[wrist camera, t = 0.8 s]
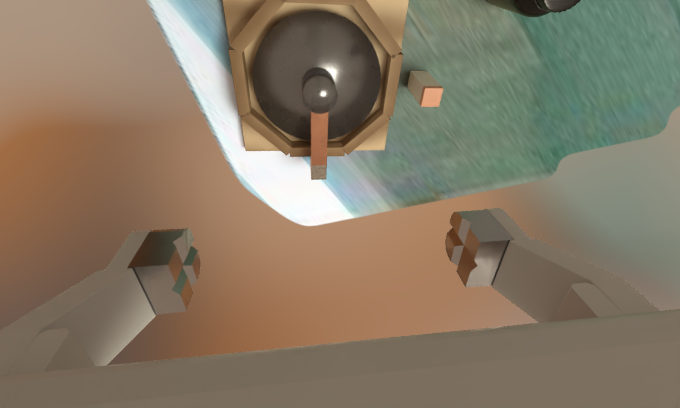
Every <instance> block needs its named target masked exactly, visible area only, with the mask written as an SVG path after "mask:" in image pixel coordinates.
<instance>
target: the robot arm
mask: <svg viewBox="0 0 680 408" xmlns="http://www.w3.org/2000/svg"><path fill="white" fill-rule="evenodd" d="M450 224H451V225H452V227H453V228H452V229H451V230H450V231H449V232H448V233H447V236H446V241H445V244H446V252H447V255H448V257H449V259H450V261H451V262H453V263H454V264H456V265H458V268H457V273H458V275H459V277H460V278H461V280H462V282H463V284H464V285H465V287H478V286H492V287H493V288H494V289H495V290H497V291H498V292H499V293H501V294H502V295H503V296H505V297H506V298H507V299H509V300H510V301H511V302H512V303H514V304H515V305H517V306H518V307H519V308H520V309H522V310H523V311H524V312H526V313H527V314H528V315H530V316H531V317H532V318H534V319H535V320H536V321H538V322H539V323H535V324H524V325H514V326H503V327H493V328H484V329H473V330H463V331H452V332H442V333H433V334H422V335H411V336H401V337H391V338H381V339H371V340H361V341H350V342H340V343H330V344H320V345H310V346H301V347H291V348H279V349H269V350H259V351H250V352H239V353H229V354H219V355H209V356H198V357H188V358H178V359H168V360H158V361H149V362H138V363H127V364H117V365H107V364H108V363H109V362H110V361H111V360H112V359H113V358H114V357H115V356H116V355H117V354H118V353H119V352H120V351H121V350H122V349H123V348H124V347H125V346H126V345H127V344H128V343H129V342H130V341H131V340H132V339H133V338H134V337H135V336H136V335H137V334H138V333H139V332H140V331H141V330H142V329H143V328H144V327H145V326H146V325H147V324H148V323H149V322H150V321H151V320H152V319H153V318H154V317H155V315H156V314H165V313H174V312H183V311H187V309H188V306H189V303H190V301H191V298H192V295H193V291H192V288H191V286H192V285H193V284H194V283H195V282H197V280H198V277H199V274H200V257H199V254H198V251H197V250H196V249H195V248H193V247H192V246H191V245H192V243H193V240H194V238H193V235H192V233H191V231H190V230H189V229H187V228H186V229H161V230H142V231H134V232H132V233H130V235H129V236H128V238H127V239H126V241H125V242H124V243H123V245H122V246H121V248H120V249H119V251H118V252H117V254H116V255H115V257H114V258H113V259H112V261H111V262H110V263H109V265H108V266H107V268H106V269H105V270H99V271H97V272H96V273H94V274H92V275H91V276H89V277H88V278H86V279H84V280H82V281H81V282H79V283H78V284H76V285H74V286H73V287H71V288H69V289H68V290H66V291H65V292H63V293H61V294H60V295H58V296H56V297H55V298H53V299H51V300H49V301H48V302H46V303H45V304H43V305H41V306H40V307H38V308H36V309H35V310H33V311H31V312H30V313H28V314H26V315H25V316H23V317H21V318H20V319H18V320H17V321H15V322H13V323H12V324H10V325H9V326H7V327H5V328H3V329H2V330H0V408H680V309H675V310H665V311H659V310H658V309H657V308H656V307H655V306H654V305H652V303H650V302H649V301H648V300H647V299H646V298H645V297H644V296H643V295H641V294H640V293H639V292H638V291H637V290H635V288H633V287H632V286H631V285H630V284H629V283H628V282H627V281H625V280H624V279H623V278H621V277H619V276H617V275H615V274H612V273H610V272H608V271H606V270H604V269H601V268H599V267H597V266H595V265H593V264H590V263H588V262H586V261H583V260H581V259H579V258H577V257H575V256H573V255H570V254H568V253H566V252H564V251H561V250H559V249H557V248H555V247H553V246H550V245H548V244H546V243H544V242H542V241H540V240H537V239H530V238H529V236H528V235H527V234H526V233H525V232H524V231H523V230H522V229H521V228H520V227H519V226H518V225H517V224H516V223H515V222H514V221H513V219H511V217H510V216H509V215H508V214H507V213H506V212H505V211H504V210H502V209H500V208H494V209H484V210H477V211H462V212H454V213H453V214H452V216H451V219H450ZM106 365H107V366H106Z"/></svg>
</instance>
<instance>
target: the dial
mask: <svg viewBox="0 0 680 408" xmlns="http://www.w3.org/2000/svg"><path fill="white" fill-rule="evenodd" d="M252 77H253V87H254V92H255V95H256V98H257V101H258V103H259V105H260V107H261V109H262V110H263V112H264V114H265V115H266V116H267V117H268V119H269V120H270V121H271V122H272V123H273V124H274V125H275V126H277V127H278V128H279V129H281V130H282V131H284V132H285V133H287V134H289V135H291V136H294V137H296V138H300V139H303V140H309V141H310V165H311V180H314V179H326V169H327V140H331V139H335V138H338V137H341V136H343V135H345V134H347V133H349V132H350V131H352V130H354V129H355V128H356V127H357V126H359V125H360V124H361V123H362V122H363V121H364V120H365V118H366V117H367V116H368V115H369V113H370V112H371V110H372V109H373V107H374V104H375V102H376V100H377V97H378V94H379V89H380V82H381V71H380V64H379V59H378V56H377V53H376V51H375V49H374V47H373V45H372V43H371V41H370V40H369V38H368V37H367V35H366V34H365V33H364V32H363V31H362V30H361V28H360V27H359V26H357V25H356V24H355V23H354V22H353V21H351V20H350V19H348V18H346V17H345V16H343V15H340V14H338V13H335V12H332V11H328V10H320V9H310V10H304V11H299V12H296V13H293V14H291V15H289V16H287V17H285V18H283V19H282V20H280V21H279V22H278V23H276V24H275V25H274V26H273V27H272V28H271V29H270V30H269V31H268V32H267V34H266V35H265V36H264V38H263V39H262V41H261V43H260V45H259V47H258V50H257V53H256V56H255V60H254V64H253V73H252Z"/></svg>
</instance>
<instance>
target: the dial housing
mask: <svg viewBox="0 0 680 408" xmlns="http://www.w3.org/2000/svg"><path fill="white" fill-rule="evenodd" d="M408 2H409V0H223V6H224V13H225V19H226V26H227V32H228V39H229V45H230V48H229V56H230V62H231V69H232V75H233V81H234V88H235V94H236V101H237V107H238V113H239V115H240V117H241V123H242V129H243V136H244V142H245V149H246V151H282V152H283V153H284V154H285V155H288V154H289V153H290V157H303V156H310V141H309V140H303V139H300V138H296V137H294V136H291V135H289V134H287V133H285V132H284V131H282V130H281V129H279V128H278V127H277V126H275V125H274V124H273V123H272V122H271V121H270V120H269V119H268V117H267V116H266V115H265V114H264V112H263V110H262V109H261V107H260V105H259V103H258V101H257V98H256V95H255V92H254V87H253V77H252V73H253V64H254V60H255V56H256V53H257V50H258V47H259V45H260V43H261V41H262V39H263V38H264V36H265V35H266V34H267V32H268V31H269V30H270V29H271V28H272V27H273V26H274V25H275V24H276V23H278V22H279V21H280V20H282V19H283V18H285V17H287V16H289V15H291V14H293V13H296V12H299V11H304V10H310V9H320V10H328V11H332V12H335V13H338V14H340V15H343V16H345V17H346V18H348V19H350V20H351V21H353V22H354V23H355V24H356V25H357V26H359V27H360V28H361V30H362V31H363V32H364V33H365V34H366V35H367V37H368V38H369V40H370V41H371V43H372V45H373V47H374V49H375V51H376V53H377V56H378V59H379V64H380V71H381V82H380V89H379V94H378V97H377V100H376V102H375V104H374V107H373V109H372V110H371V112H370V113H369V115H368V116H367V117H366V118H365V120H364V121H363V122H362V123H361V124H360V125H359V126H357V127H356V128H355V129H354V130H352V131H350V132H349V133H347V134H345V135H343V136H341V137H338V138H335V139H331V140H327V156H344V153H346V154H347V155H348V154H349V153H351V152H352V151H353V150H384V148H385V142H386V136H387V130H388V124H389V120H391V119H390V116H393V112H394V106H395V100H396V94H397V88H398V82H399V76H400V71H401V65H402V59H403V54H402V53H401V51H402V49H401V45H402V39H403V32H404V26H405V20H406V14H407V8H408Z"/></svg>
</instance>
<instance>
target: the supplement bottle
mask: <svg viewBox="0 0 680 408" xmlns="http://www.w3.org/2000/svg"><path fill="white" fill-rule="evenodd" d="M487 1H488V2H489V3H490V4H492V5H494V6H497V7H500V8H503V9H506V10H508V11H511V12H514V13H517V14H520V15H523V16H527V17H539V16H543V15H546V14H548V13H550V12H554V13H556V12H562V11H566V10H567V9H570V8H572V7H573V6H575V5H576V4H577V3H578V2H580V0H487Z"/></svg>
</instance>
